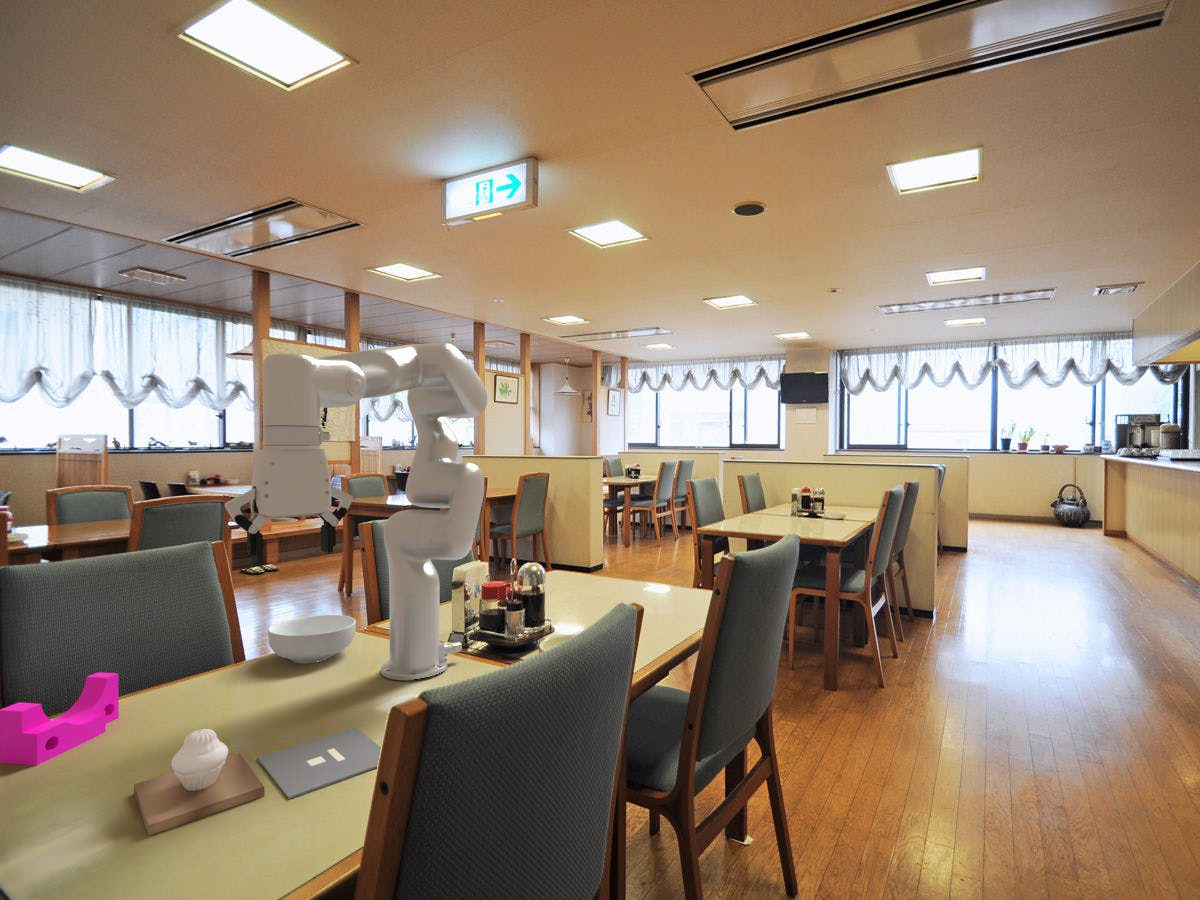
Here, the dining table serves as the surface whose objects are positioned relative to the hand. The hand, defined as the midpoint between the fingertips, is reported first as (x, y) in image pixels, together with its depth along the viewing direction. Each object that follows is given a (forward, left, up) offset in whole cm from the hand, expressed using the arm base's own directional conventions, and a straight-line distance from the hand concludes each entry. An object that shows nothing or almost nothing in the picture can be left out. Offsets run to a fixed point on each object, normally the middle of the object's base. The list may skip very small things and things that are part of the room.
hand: (293, 556), depth 93 cm
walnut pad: (+13, +5, -28) cm, 31 cm away
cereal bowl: (-16, -40, -29) cm, 52 cm away
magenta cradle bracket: (+24, -26, -29) cm, 46 cm away
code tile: (-2, +7, -28) cm, 29 cm away
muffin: (+13, +5, -27) cm, 30 cm away
